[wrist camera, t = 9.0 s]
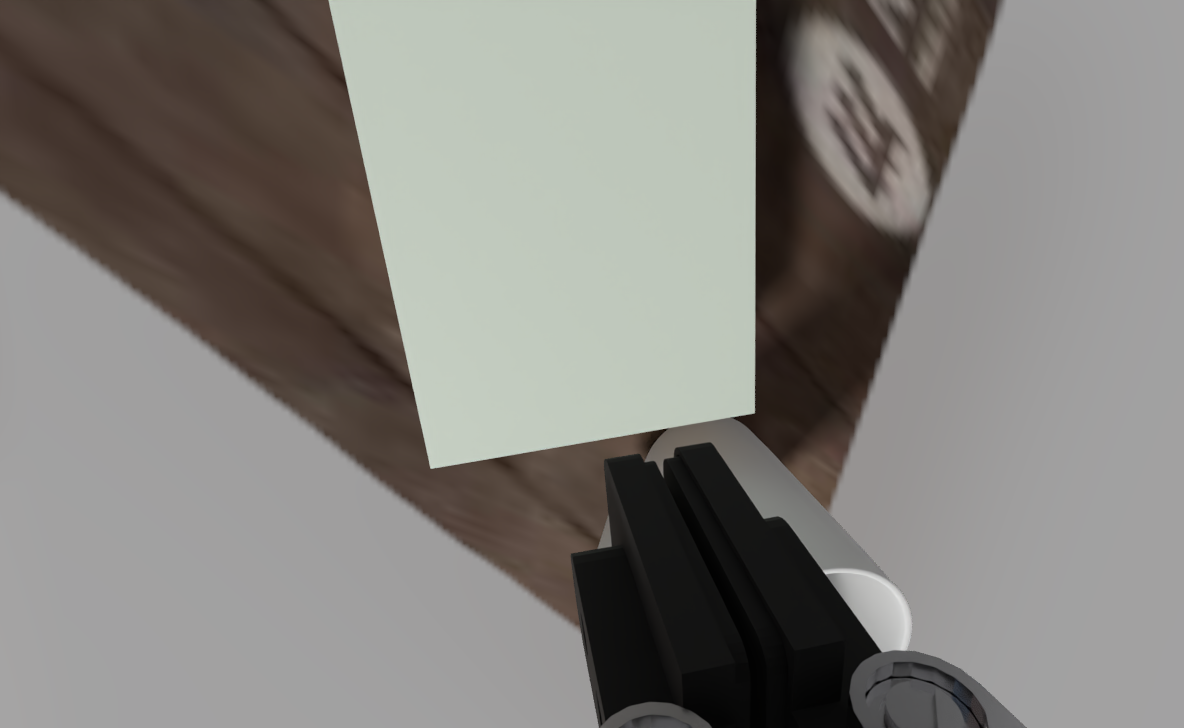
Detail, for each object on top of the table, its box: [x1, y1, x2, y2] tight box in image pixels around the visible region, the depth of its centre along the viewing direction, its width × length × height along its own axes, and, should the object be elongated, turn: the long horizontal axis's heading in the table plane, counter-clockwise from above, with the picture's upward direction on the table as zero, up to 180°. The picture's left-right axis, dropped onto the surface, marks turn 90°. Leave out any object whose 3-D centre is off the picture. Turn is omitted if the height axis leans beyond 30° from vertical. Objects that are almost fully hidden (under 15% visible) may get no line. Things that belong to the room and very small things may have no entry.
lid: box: [329, 0, 756, 469], centre depth 21 cm, size 18×12×1 cm
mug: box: [598, 418, 912, 653], centre depth 26 cm, size 10×7×12 cm, turn 95°
